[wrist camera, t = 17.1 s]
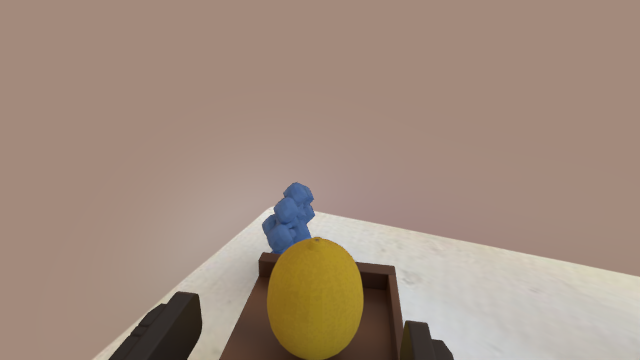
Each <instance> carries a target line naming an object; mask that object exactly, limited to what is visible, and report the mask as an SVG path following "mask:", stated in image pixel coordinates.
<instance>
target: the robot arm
mask: <svg viewBox="0 0 640 360" xmlns="http://www.w3.org/2000/svg"><path fill="white" fill-rule="evenodd" d="M201 331H202V317H201V308H200V300H199V295H198V294H196V293H188V292H180V291H178V292H176V293H175V294H174V295H173V297H172V298H171V299H170V300H169V302H168V303H167V304H162V303H161V304H160V305H159V306H157V307H156V308H154V309H153V310H151V311H150V312H148V313H147V315H146V316H145V317H144V318H143V319H142V320H141V322H140V323H139V325H138V326H136V328H135V329H134V330H133V331H132V332H131V335H130V336H128V337H127V338H126V339H125V341H124V342H123V343H122V344H121V345H120V346H119V348H118V349H117V350H116V351H115V352H114V354H113V355H112V356H111V357H110V358H109V359H108V360H187V358H188V357H189V355H190V353H191V352H192V350H193V348H194V347H195V345H196V343H197V341H198V340H199V337H200V334H201ZM400 360H454V358H453V355H452V353H451V352H450V350H449V349H448V348H447V346H446V345H445V344H444V342H443V341H442V340H434V339H431V335H430V331H429V327H428V324H427V323H424V322H416V321H408V320H406V321H405V325H404V331H403V337H402V343H401V349H400Z"/></svg>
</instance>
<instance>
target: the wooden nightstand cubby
mask: <svg viewBox="0 0 640 360" xmlns="http://www.w3.org/2000/svg"><path fill="white" fill-rule="evenodd" d="M281 255H282V254H275V253H265V252H263V253H262V255H261V257H260V259H259V277H258V279H257V281H256V283H255V286H254V288H253V290H252V292H251V294H250V296H249V298H248V300H247V302H246V304H245V307H244V309H243V311H242V313H241V315H240V317H239V319H238V321H237V323H236V325H235V328H234V330H233V332H232V334H231V336H230V338H229V340H228V342H227V344H226V346H225V349H224V351H223V353H222V355H221V357H220V359H219V360H306V359H302V358H299V357H297V356H295V355H293V354H292V353H290V352H289V351H288V350H286V349H285V348H284V347H283V346H282V345H281V344H280V342H279V341H278V339H277V338H276V336H275V334H274V333H273V331H272V328H271V324H270V320H269V316H268V311H267V295H268V286H269V281H270V277H271V274H272V271H273V268H274V266H275V264H276V263H277V261H278V259H279V257H280V256H281ZM355 263H356V265H357V267H358V270H359V272H360V276H361V281H362V288H363V312H362V316H361V320H360V323H359V327H358V329H357V332H356V334H355V335H354V337H353V338H352V340H351V341H350V343H349V344H348V345H347V346H346V347H345V348H344V349H343V350H341V351H340V352H339V353H338V354H336V355H334V356H332V357H330V358H327V359H322V360H400V349H401V343H402V337H403V331H404V327H403V320H402V313H401V307H400V300H399V293H398V287H397V280H396V273H395V267H394V266H389V265H380V264H370V263H361V262H355Z"/></svg>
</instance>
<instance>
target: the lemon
mask: <svg viewBox="0 0 640 360" xmlns="http://www.w3.org/2000/svg"><path fill="white" fill-rule="evenodd" d="M267 311H268V316H269V320H270V324H271V328H272V331H273V333H274V334H275V336H276V338H277V339H278V341H279V342H280V344H281V345H282V346H283V347H284V348H285V349H286V350H288V351H289V352H290V353H292V354H293V355H295V356H297V357H299V358H302V359H306V360H322V359H327V358H330V357H332V356H334V355H336V354H338V353H339V352H340V351H341V350H343V349H344V348H345V347H346V346H347V345H348V344H349V343H350V341H351V340H352V338H353V337H354V335H355V334H356V332H357V329H358V327H359V323H360V320H361V316H362V312H363V288H362V281H361V276H360V272H359V270H358V267H357V265H356V263H355V261H354V259H353V258H352V256H351V255H350V254H349V253H348V252H347V251H346V250H345V249H344V248H343V247H341V246H340V245H338V244H336V243H334V242H332V241H330V240H327V239H322V238H320V237H314V238H310V239H305V240H302V241H300V242H297V243H296V244H294V245H292V246H291V247H289V248H288V249H287V250H286V251H285V252H284V253H283V254H282V255H281V256H280V257H279V259H278V261H277V263H276V264H275V266H274V268H273V271H272V274H271V277H270V281H269V286H268V295H267Z"/></svg>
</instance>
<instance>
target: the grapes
mask: <svg viewBox="0 0 640 360" xmlns="http://www.w3.org/2000/svg"><path fill="white" fill-rule="evenodd" d="M283 194H284V197H285V198H283V199H282V200H281V201H280V202H278V204H277V205H276V206H275V207H274V212H275V214H273V215H270V216H269V217H268V218H267V219H266V220H265V221H264V222H263V224H262V227H263V231H264V233H265V235H266V236H267V240H268V243H269V246H270V247H271V248H272V250H273V251H272V252H271V253H275V254H283V253H284V252H285V251H286V250H287V249H288V248H289V247H291V246H292V245H294V244H296V243H297V242H300V241H302V240H305V239H310V238H311V235H310V232H309V230H308V227H307V225H306V224H307V223H308V222H309V221H310V220H311V219H312V218H313V217H314V216H315V214H314V211H313V209H312V207H311V206H310V203H311V202H312V201H313V200H314V198H313V196H312V193H311V191H310V189H309V188H308V187H306V186H304V185H302V184H300V183H297V182H296V183H293V184H292V185H290V186H289V187H288V188H287V189H286V190H285V192H284V193H283Z"/></svg>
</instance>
